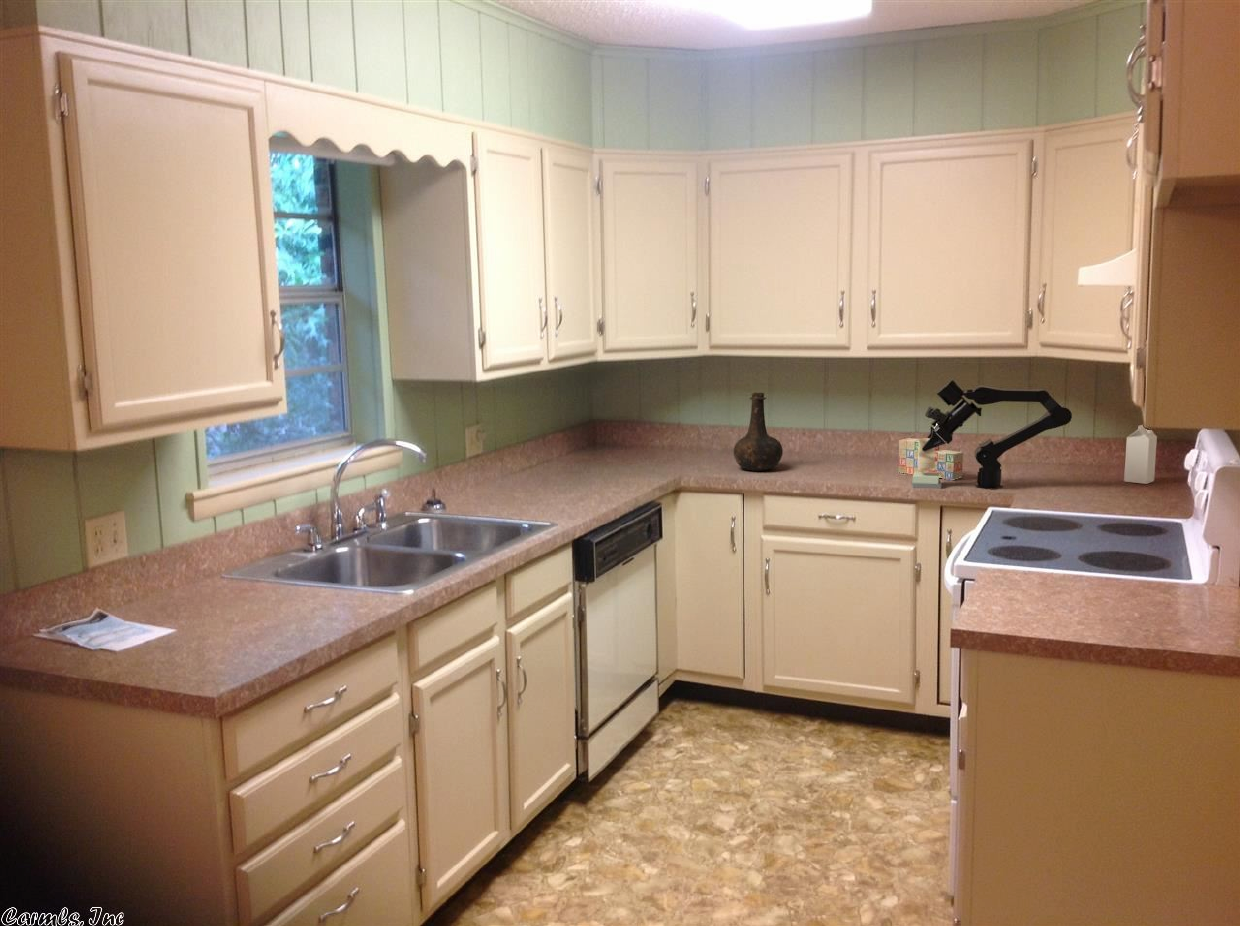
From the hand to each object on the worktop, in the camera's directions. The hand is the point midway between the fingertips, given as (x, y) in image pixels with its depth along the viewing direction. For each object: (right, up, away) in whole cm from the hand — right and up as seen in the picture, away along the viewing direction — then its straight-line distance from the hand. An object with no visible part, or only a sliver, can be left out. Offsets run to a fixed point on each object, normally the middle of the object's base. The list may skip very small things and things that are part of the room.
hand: (922, 448), depth 355 cm
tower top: (+2, -11, +2) cm, 11 cm away
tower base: (+2, -13, +2) cm, 13 cm away
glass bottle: (-49, -7, +38) cm, 63 cm away
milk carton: (+72, -11, +2) cm, 73 cm away
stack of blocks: (+8, -9, +19) cm, 23 cm away
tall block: (+2, -7, +1) cm, 7 cm away
